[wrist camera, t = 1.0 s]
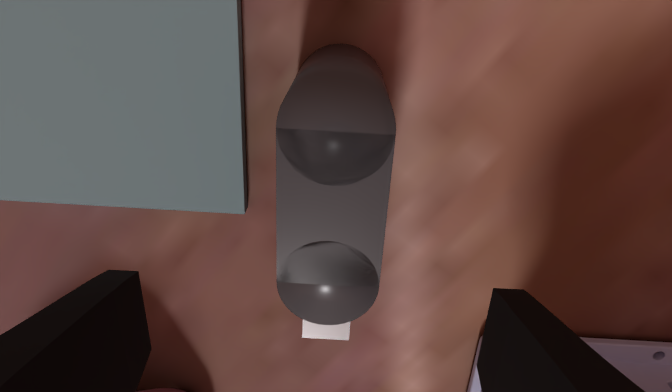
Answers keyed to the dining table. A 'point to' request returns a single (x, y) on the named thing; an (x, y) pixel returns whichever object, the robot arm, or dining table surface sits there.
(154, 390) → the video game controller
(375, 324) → the dining table surface
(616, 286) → the dining table surface
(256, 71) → the dining table surface
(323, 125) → the connector plug
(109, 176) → the rubber mat
